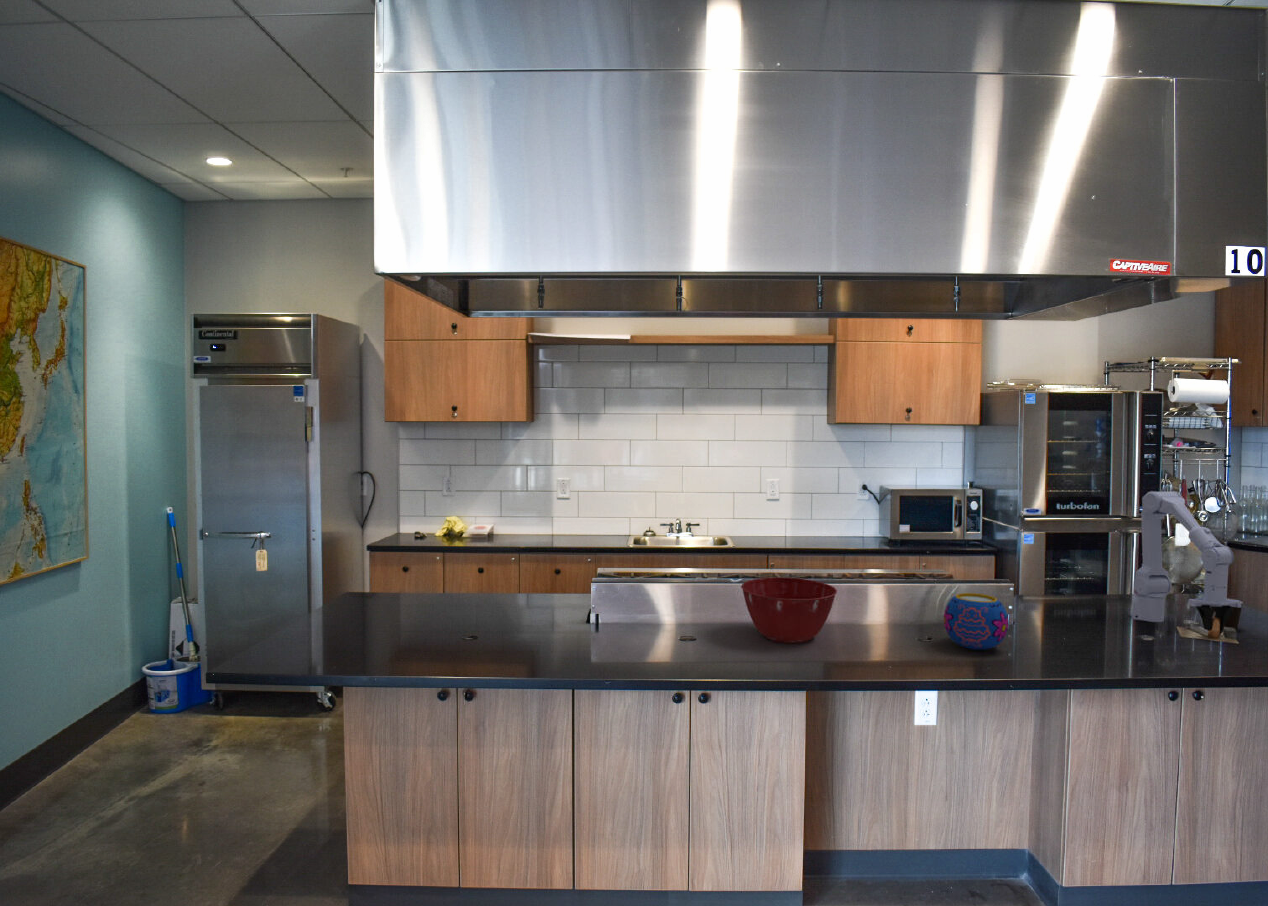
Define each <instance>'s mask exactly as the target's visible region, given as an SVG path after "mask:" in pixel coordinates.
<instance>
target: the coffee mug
mask: <svg viewBox="0 0 1268 906" xmlns="http://www.w3.org/2000/svg"><path fill="white" fill-rule="evenodd" d="M1227 599H1230V600H1235V599H1233V598H1228V597H1227ZM1210 607H1211V609H1213V610H1215V607H1214V606H1210ZM1231 608H1232V609H1234V610H1233V613H1232V614H1231V615H1230V617H1229V618H1228V620H1227V622H1226V624H1225V627H1230V628H1234V629H1235V630H1236V631H1238V627H1239V624H1240V623H1239V622H1240V619H1241V613H1242V609H1243V601H1241V608H1240V607H1231ZM1213 617H1216V611H1214V614H1213Z"/></svg>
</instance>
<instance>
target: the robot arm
mask: <svg viewBox="0 0 1268 906" xmlns="http://www.w3.org/2000/svg"><path fill="white" fill-rule="evenodd" d="M1141 499H1142V500H1141V501H1142V502H1141V503H1142V504H1141V505H1142V510H1141V512H1140V513H1141V540H1142V541H1141V546H1142V551H1141V552H1142V566H1141V567H1140V568H1139V569H1137V570H1136V572H1135V578H1134V580H1133V588H1134V590H1135V591H1136V593H1132V594H1131V595H1132V596H1131V610H1130V611H1129V612H1130V616H1131V619H1132V620H1136V621H1144V622H1145V621H1146V622H1149V623H1150V622H1151V623H1163V622H1164V620H1165V619H1164V618H1165V600H1166V599H1165V598H1166V597H1167V596H1168V594H1169V593H1170V592H1171V591H1172V582H1171V580H1170V575H1169V571H1168V570H1167V569H1165V568H1164V566H1163V549H1162V547H1163V546H1162V544H1163V543H1162V519H1164V517H1166V516H1167V515H1172V516H1173V517H1174V518H1175V519H1176V520H1177V521H1178V522H1179V523H1180V524H1181V525H1182V526H1183V527H1184V528H1185V529H1186V531H1187V532H1188V539H1189V540H1190V541H1191V542H1192V544H1193V546H1195V548H1196V549H1197V550H1198V551H1199V552H1200V559H1201V562H1202V564H1203V570H1204V580H1203V581H1204V583H1203V597H1201V598H1189V599H1188V603H1187V604H1188V606H1191V607H1194V608H1196V610H1197V612H1198V613H1199V616H1200V618H1201V621H1202V625H1203V628H1204V629H1206V630H1208V631H1211V626H1212V617H1213V614H1214V611H1216V617H1219V618H1221V621H1220V631H1223V629H1224V627H1225V624H1226V622H1227V620H1228V618H1229V617H1230V615H1231V614H1232V613H1233V610H1234V609H1232V608H1231V607H1240V608H1241V602H1242V601H1241V600H1238V599H1234V600H1230V599H1231V598H1228V597H1227V596H1228V578H1229V565H1232V563H1233V562H1234V558H1235V555H1234V552H1233V550H1232V549H1231V548H1230V547H1229V546H1227V545H1224V544H1222V543H1221V542H1220V541H1219V540H1218V539H1217V538H1216V537H1215V536H1214V535H1213V534H1212V531H1211V529H1210V528H1207V527H1206V526H1200V524H1199V523H1198V522H1197V520H1196V518H1195V517H1194V515H1193V514H1192V513H1191V511H1190V510H1189V508H1187V506H1186V500H1185V499H1184V498H1183V496H1182V495H1181V494H1180V492H1178V491H1176V490H1172V491H1152V490H1151V491H1148V492H1147V493H1146V494H1144V495H1143V496H1142V498H1141ZM1227 598H1228V599H1227ZM1210 606H1214V607H1215V610H1213V609H1211V607H1210Z"/></svg>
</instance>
